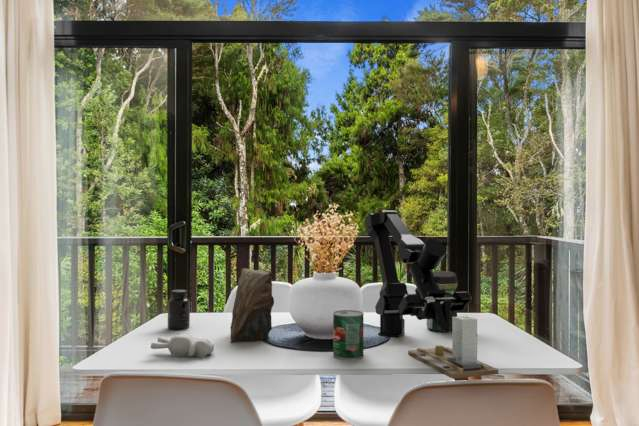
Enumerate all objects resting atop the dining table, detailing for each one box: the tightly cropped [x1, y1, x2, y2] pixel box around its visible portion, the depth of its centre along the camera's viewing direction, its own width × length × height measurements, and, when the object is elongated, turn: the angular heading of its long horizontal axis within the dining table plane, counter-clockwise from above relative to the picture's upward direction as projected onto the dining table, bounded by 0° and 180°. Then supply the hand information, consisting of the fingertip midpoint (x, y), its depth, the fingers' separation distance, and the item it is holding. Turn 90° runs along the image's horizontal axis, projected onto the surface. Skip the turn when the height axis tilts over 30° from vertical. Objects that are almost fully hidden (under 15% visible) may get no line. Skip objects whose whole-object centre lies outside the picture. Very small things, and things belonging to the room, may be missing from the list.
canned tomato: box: [332, 309, 365, 361], centre depth 132 cm, size 8×8×11 cm
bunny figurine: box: [150, 333, 215, 358], centre depth 131 cm, size 10×5×15 cm
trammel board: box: [407, 344, 499, 380], centre depth 125 cm, size 21×12×3 cm, turn 18°
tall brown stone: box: [230, 267, 275, 344], centre depth 151 cm, size 13×13×20 cm
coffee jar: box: [426, 270, 459, 332], centre depth 163 cm, size 10×8×19 cm
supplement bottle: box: [167, 289, 191, 331], centre depth 163 cm, size 7×7×12 cm
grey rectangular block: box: [448, 315, 482, 370], centre depth 119 cm, size 6×7×11 cm
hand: (447, 331), depth 126 cm, fingers closed
